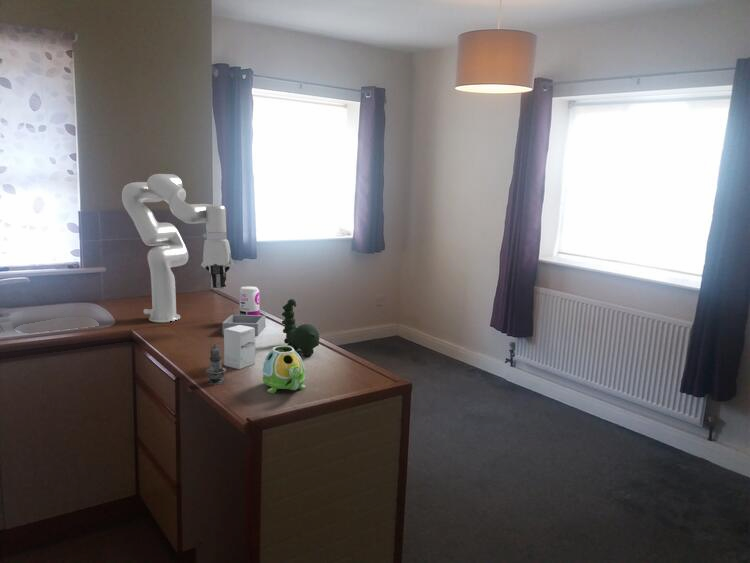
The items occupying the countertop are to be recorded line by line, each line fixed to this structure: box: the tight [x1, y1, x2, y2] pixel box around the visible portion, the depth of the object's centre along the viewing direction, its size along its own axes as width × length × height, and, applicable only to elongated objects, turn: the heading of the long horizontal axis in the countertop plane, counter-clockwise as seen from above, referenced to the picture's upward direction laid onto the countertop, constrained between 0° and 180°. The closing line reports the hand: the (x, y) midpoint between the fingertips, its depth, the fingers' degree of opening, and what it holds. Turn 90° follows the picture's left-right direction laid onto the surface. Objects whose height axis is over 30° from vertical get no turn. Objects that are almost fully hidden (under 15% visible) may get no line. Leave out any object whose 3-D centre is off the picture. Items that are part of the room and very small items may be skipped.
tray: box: [221, 314, 267, 337], centre depth 234 cm, size 14×14×5 cm
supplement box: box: [223, 325, 256, 370], centre depth 192 cm, size 7×7×13 cm
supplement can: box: [239, 285, 260, 315], centre depth 247 cm, size 8×8×15 cm
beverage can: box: [210, 264, 227, 291], centre depth 230 cm, size 6×6×12 cm
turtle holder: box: [262, 345, 306, 394], centre depth 171 cm, size 12×18×12 cm
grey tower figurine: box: [205, 343, 227, 385], centre depth 176 cm, size 6×6×12 cm
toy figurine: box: [281, 298, 321, 357], centre depth 208 cm, size 9×19×25 cm
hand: (218, 282), depth 231 cm, fingers closed on beverage can, 3 cm apart
